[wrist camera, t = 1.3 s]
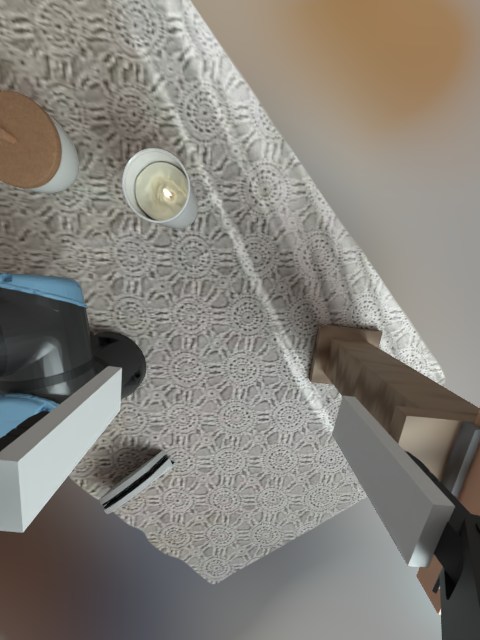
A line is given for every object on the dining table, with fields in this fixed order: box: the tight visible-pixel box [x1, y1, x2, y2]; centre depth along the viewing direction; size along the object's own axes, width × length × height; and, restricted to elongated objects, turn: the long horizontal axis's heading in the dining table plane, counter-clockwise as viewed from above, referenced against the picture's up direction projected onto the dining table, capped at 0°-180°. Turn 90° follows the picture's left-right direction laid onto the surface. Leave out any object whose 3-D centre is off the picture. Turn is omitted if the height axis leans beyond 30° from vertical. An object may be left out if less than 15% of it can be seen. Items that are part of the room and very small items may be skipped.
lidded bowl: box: [0, 91, 79, 193], centre depth 39 cm, size 13×13×11 cm
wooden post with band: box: [309, 324, 480, 499], centre depth 37 cm, size 13×16×31 cm
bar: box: [417, 409, 480, 615], centre depth 22 cm, size 24×3×3 cm, turn 174°
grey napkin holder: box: [100, 450, 176, 514], centre depth 56 cm, size 17×5×10 cm, turn 129°
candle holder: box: [122, 148, 198, 229], centre depth 40 cm, size 10×10×12 cm
